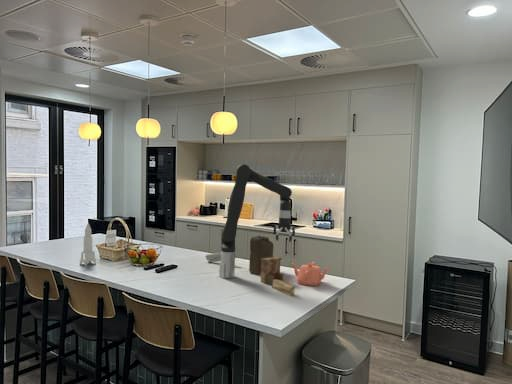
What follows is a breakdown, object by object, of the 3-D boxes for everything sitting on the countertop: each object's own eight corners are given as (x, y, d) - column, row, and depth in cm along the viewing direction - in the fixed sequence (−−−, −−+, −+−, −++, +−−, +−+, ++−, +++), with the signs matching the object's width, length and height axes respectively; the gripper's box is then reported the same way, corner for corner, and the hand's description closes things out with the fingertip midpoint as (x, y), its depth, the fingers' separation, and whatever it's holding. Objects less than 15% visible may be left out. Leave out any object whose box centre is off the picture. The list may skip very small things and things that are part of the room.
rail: (289, 296, 213) (290, 287, 213) (272, 287, 227) (272, 279, 227) (294, 295, 215) (294, 286, 215) (276, 287, 229) (277, 279, 229)
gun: (236, 265, 274) (233, 251, 274) (207, 268, 284) (204, 255, 284) (237, 264, 276) (235, 250, 276) (208, 267, 286) (206, 254, 287)
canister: (257, 275, 253) (258, 238, 251) (247, 273, 258) (248, 237, 256) (273, 270, 267) (274, 235, 266) (264, 268, 273) (265, 234, 271)
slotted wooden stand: (269, 286, 230) (270, 262, 229) (259, 281, 238) (260, 258, 237) (285, 283, 237) (286, 259, 236) (275, 279, 246) (276, 256, 245)
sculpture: (96, 263, 269) (96, 222, 267) (85, 266, 262) (85, 223, 260) (90, 262, 272) (90, 221, 271) (79, 264, 265) (79, 222, 264)
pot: (314, 278, 251) (315, 259, 250) (329, 285, 235) (329, 266, 234) (290, 280, 244) (290, 261, 243) (303, 288, 228) (304, 268, 227)
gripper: (273, 216, 247) (272, 241, 248) (294, 218, 243) (293, 243, 244) (275, 215, 254) (274, 239, 255) (296, 217, 250) (295, 241, 251)
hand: (283, 241), depth 250 cm, fingers open, 8 cm apart
